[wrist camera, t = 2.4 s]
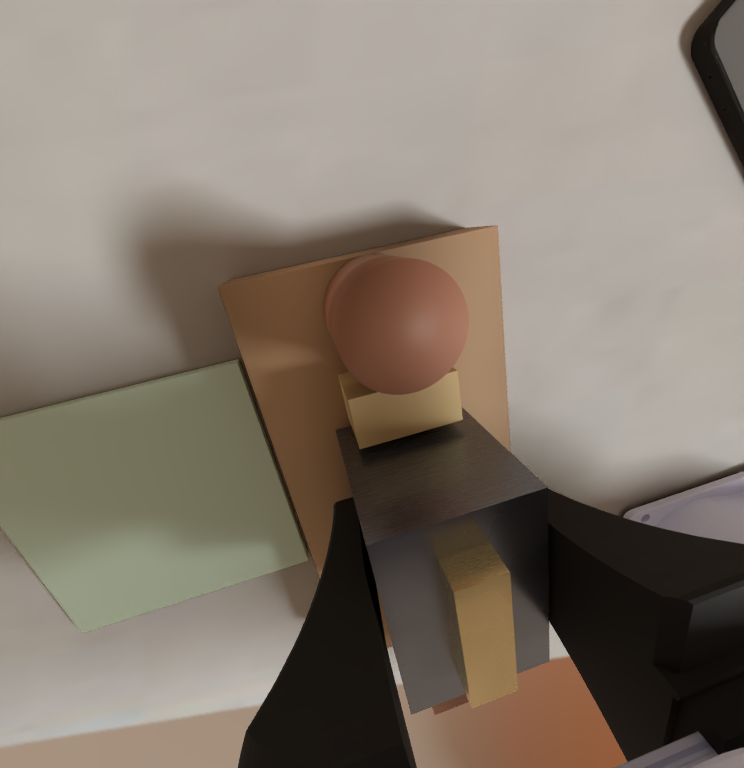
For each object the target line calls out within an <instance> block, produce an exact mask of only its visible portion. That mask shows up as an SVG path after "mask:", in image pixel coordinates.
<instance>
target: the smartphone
mask: <svg viewBox="0 0 744 768" xmlns="http://www.w3.org/2000/svg"><path fill="white" fill-rule="evenodd" d="M691 56H692V59H693V62H694V64H695V66H696V68H697V70H698V72H699V74H700V76H701V79H702V81H703V83H704V85H705V87H706V89H707V91H708V93H709V96H710V98H711V100H712V102H713V104H714V106H715V108H716V110H717V113H718V115H719V117H720V119H721V121H722V123H723V125H724V127H725V129H726V131H727V133H728V135H729V137H730V139H731V141H732V143H733V146H734V148H735V150H736V152H737V154H738V156H739V158H740V160H741V162H742V164H743V166H744V0H722V1H721V2H720V4H719V5H718V6H717V7H716V8H715V9H714V11H713V12H712V13H711V14H710V15H709V17H708V18H707V19H706V20H705V21H704V23H703V24H702V25H701V26H700V27H699V29H698V30H697V32H696V33H695V35H694V38H693V41H692V46H691ZM733 88H734V89H733Z"/></svg>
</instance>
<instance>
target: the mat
mask: <svg viewBox="0 0 744 768" xmlns="http://www.w3.org/2000/svg"><path fill="white" fill-rule="evenodd" d="M0 527H1V529H2V530H3V531H4V532H5V534H6V535H7V536H8V538H9V539H10V540H11V542H12V543H13V544H14V546H15V547H16V548H17V549H18V551H19V552H20V553H21V555H22V556H23V557H24V559H25V560H26V561H27V563H28V564H29V565H30V566H31V568H32V569H33V570H34V572H35V573H36V574H37V576H38V577H39V578H40V579H41V581H42V582H43V583H44V585H45V586H46V587H47V589H48V590H49V591H50V593H51V594H52V595H53V596H54V598H55V599H56V600H57V602H58V603H59V604H60V606H61V607H62V608H63V609H64V611H65V612H66V613H67V615H68V616H69V617H70V619H71V620H72V621H73V623H74V624H75V625H76V626H77V628H78V629H79V630H80V632H81V633H85V632H88V631H91V630H95V629H98V628H101V627H104V626H107V625H110V624H113V623H116V622H119V621H123V620H126V619H129V618H132V617H135V616H138V615H141V614H144V613H148V612H151V611H154V610H157V609H160V608H163V607H166V606H169V605H172V604H176V603H179V602H182V601H185V600H188V599H191V598H194V597H197V596H201V595H204V594H207V593H210V592H213V591H216V590H219V589H222V588H225V587H229V586H232V585H235V584H238V583H241V582H244V581H247V580H250V579H253V578H257V577H260V576H263V575H266V574H269V573H272V572H275V571H278V570H282V569H285V568H288V567H291V566H294V565H297V564H300V563H303V562H306V561H308V552H307V550H306V547H305V544H304V541H303V538H302V536H301V533H300V530H299V527H298V524H297V521H296V519H295V516H294V513H293V510H292V507H291V505H290V502H289V499H288V496H287V493H286V490H285V488H284V485H283V482H282V479H281V476H280V474H279V471H278V468H277V465H276V462H275V459H274V457H273V454H272V451H271V448H270V445H269V443H268V440H267V437H266V434H265V431H264V428H263V426H262V423H261V420H260V417H259V414H258V412H257V409H256V406H255V403H254V400H253V397H252V395H251V392H250V389H249V386H248V383H247V381H246V378H245V375H244V372H243V369H242V366H241V364H240V361H239V359H236V360H232V361H228V362H224V363H220V364H216V365H212V366H208V367H204V368H200V369H196V370H192V371H188V372H184V373H180V374H176V375H172V376H168V377H164V378H160V379H155V380H151V381H147V382H143V383H139V384H135V385H131V386H127V387H123V388H119V389H115V390H111V391H107V392H103V393H99V394H95V395H91V396H87V397H83V398H79V399H75V400H70V401H66V402H62V403H58V404H54V405H50V406H46V407H42V408H38V409H34V410H30V411H26V412H22V413H18V414H14V415H10V416H6V417H2V418H0Z"/></svg>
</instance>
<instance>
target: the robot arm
mask: <svg viewBox="0 0 744 768" xmlns="http://www.w3.org/2000/svg"><path fill="white" fill-rule="evenodd" d="M333 508H334V512H333V524H332V530H331V536H330V541H329V546H328V551H327V555H326V559H325V563H324V567H323V570H322V574H321V577H320V581H319V584H318V587H317V590H316V593H315V596H314V599H313V601H312V604H311V607H310V609H309V612H308V614H307V617H306V619H305V622H304V624H303V626H302V629H301V631H300V633H299V636H298V638H297V640H296V642H295V644H294V647H293V649H292V651H291V652H290V654H289V656H288V658H287V660H286V662H285V664H284V666H283V668H282V670H281V672H280V674H279V676H278V678H277V680H276V682H275V683H274V685H273V687H272V689H271V690H270V692H269V694H268V696H267V697H266V699H265V701H264V702H263V704H262V706H261V707H260V709H259V711H258V712H257V714H256V716H255V717H254V719H253V721H252V722H251V724H250V726H249V727H248V729H247V731H246V734H245V737H244V742H243V746H242V750H241V754H240V759H239V764H238V768H417V767H416V763H415V759H414V755H413V751H412V747H411V743H410V739H409V735H408V731H407V727H406V723H405V720H404V715H403V711H402V708H401V703H400V699H399V695H398V691H397V687H396V683H395V679H394V675H393V671H392V667H391V663H390V659H389V655H388V650H387V645H386V639H385V633H384V627H383V622H382V616H381V610H380V604H379V598H378V592H377V586H376V581H375V578H374V574H373V570H372V566H371V563H370V559H369V555H368V551H367V548H366V544H365V540H364V536H363V533H362V529H361V525H360V521H359V517H358V514H357V510H356V506H355V502H354V498H353V497H351V498H347V499H344V500H341V501H338V502H336V503H335V504H334V506H333ZM548 572H549V621H550V623H551V625H552V626H553V628H554V630H555V631H556V633H557V635H558V636H559V638H560V640H561V641H562V643H563V645H564V647H565V648H566V650H567V652H568V654H569V655H570V657H571V659H572V660H573V662H574V664H575V666H576V667H577V669H578V671H579V673H580V674H581V676H582V678H583V680H584V682H585V683H586V685H587V687H588V689H589V690H590V692H591V694H592V696H593V698H594V700H595V701H596V703H597V705H598V707H599V709H600V710H601V712H602V714H603V716H604V718H605V720H606V722H607V724H608V725H609V727H610V729H611V731H612V733H613V735H614V737H615V739H616V741H617V742H618V744H619V746H620V748H621V750H622V752H623V753H624V756H625V758H626V759H627V761H628V762H626V763H624V764H622V765H619V766H617V767H615V768H744V471H743V472H740V473H737V474H734V475H731V476H728V477H725V478H722V479H719V480H716V481H713V482H710V483H707V484H704V485H701V486H699V487H696V488H693V489H690V490H687V491H684V492H681V493H678V494H675V495H672V496H669V497H666V498H663V499H660V500H657V501H655V502H652V503H649V504H646V505H643V506H640V507H637V508H634V509H631V510H629V511H628V512H626V513H625V515H624V516H623V517H619V516H616V515H613V514H610V513H607V512H604V511H601V510H599V509H596V508H593V507H590V506H588V505H585V504H582V503H580V502H577V501H575V500H572V499H570V498H568V497H565V496H563V495H561V494H558V493H556V492H554V491H552V490H549V489H548Z"/></svg>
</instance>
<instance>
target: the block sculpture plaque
mask: <svg viewBox="0 0 744 768" xmlns="http://www.w3.org/2000/svg"><path fill="white" fill-rule="evenodd" d="M218 290H219V293H220V295H221V298H222V301H223V304H224V307H225V310H226V313H227V315H228V318H229V321H230V324H231V327H232V330H233V333H234V335H235V338H236V341H237V344H238V347H239V350H240V353H241V355H242V358H243V361H244V364H245V367H246V370H247V373H248V375H249V378H250V381H251V384H252V387H253V390H254V392H255V395H256V398H257V401H258V404H259V407H260V410H261V412H262V415H263V418H264V421H265V424H266V427H267V430H268V432H269V435H270V438H271V441H272V444H273V447H274V450H275V452H276V455H277V458H278V461H279V464H280V467H281V470H282V472H283V475H284V478H285V481H286V484H287V487H288V489H289V492H290V495H291V498H292V501H293V504H294V507H295V509H296V512H297V515H298V518H299V521H300V524H301V527H302V529H303V532H304V535H305V538H306V541H307V544H308V547H309V549H310V552H311V555H312V558H313V561H314V564H315V566H316V569H317V572H318V575H319V578H320V577H321V574H322V570H323V567H324V563H325V559H326V555H327V551H328V546H329V541H330V536H331V530H332V524H333V512H334V508H333V506H334V504H335V503H336V502H338V501H341V500H344V499H347V498H351V497H353V495H352V491H351V487H350V483H349V479H348V476H347V472H346V468H345V464H344V460H343V457H342V453H341V449H340V445H339V441H338V438H337V434H336V430H337V429H340V428H344V427H347V426H352V429H353V432H354V434H355V437H356V440H357V443H358V446H359V448H360V449H363V448H367V447H370V446H373V445H377V444H380V443H384V442H387V441H391V440H394V439H398V438H401V437H405V436H408V435H412V434H415V433H419V432H422V431H425V430H429V429H432V428H436V427H439V426H443V425H446V424H450V423H453V422H457V421H460V420H463V416H462V407H463V408H464V409H465V410H466V411H467V412H468V413H469V414H470V415H471V416H472V417H473V418H474V419H475V420H476V421H477V422H479V423H480V424H481V425H482V426H483V427H484V428H485V429H486V430H487V431H488V432H489V433H490V434H491V435H492V436H493V437H494V438H496V439H497V440H498V441H499V442H500V443H501V444H502V445H503V446H504V447H505V448H506V449H507V450H508V451H509V452H510V435H509V417H508V399H507V381H506V364H505V346H504V328H503V311H502V293H501V275H500V257H499V240H498V225H497V226H484V227H471V228H464V229H459V230H455V231H450V232H446V233H441V234H437V235H432V236H427V237H423V238H418V239H414V240H409V241H405V242H400V243H396V244H391V245H387V246H382V247H378V248H373V249H368V250H364V251H359V252H355V253H350V254H346V255H341V256H337V257H332V258H328V259H323V260H319V261H314V262H309V263H305V264H300V265H296V266H291V267H287V268H282V269H278V270H273V271H269V272H264V273H260V274H255V275H251V276H246V277H241V278H237V279H232V280H228V281H227V282H225V283H224V284H222V285H221V286H219V287H218ZM461 406H462V407H461ZM510 453H511V452H510ZM376 586H377V585H376ZM377 592H378V589H377ZM378 598H379V604H380V610H381V616H382V622H383V627H384V633H385V639H386V645H387V648H389V647H391V646H393V644H392V641H391V637H390V633H389V630H388V626H387V622H386V618H385V615H384V611H383V607H382V604H381V600H380V596H379V592H378ZM467 702H469V701H468V698H467V696H466V694H464V695H461V696H458V697H456V698H453V699H451V700H448V701H445V702H443V703H440V704H438V705H435V706H432V708H433V711H434V714H435V715H436V714H439V713H441V712H444V711H447V710H449V709H451V708H454V707H457V706H459V705H462V704H465V703H467Z"/></svg>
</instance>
